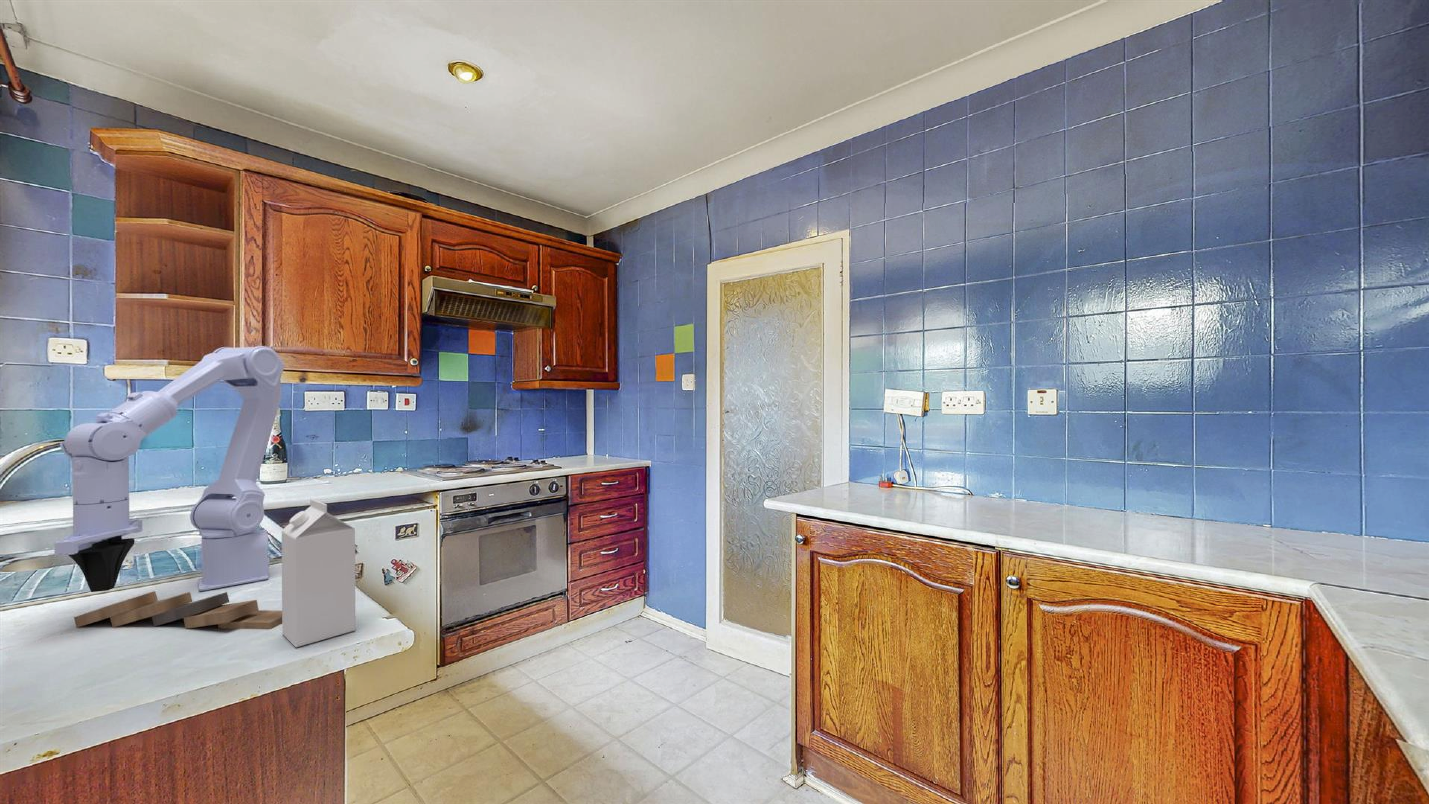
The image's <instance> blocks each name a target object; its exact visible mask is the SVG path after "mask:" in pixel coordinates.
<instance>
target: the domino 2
mask: <svg viewBox="0 0 1429 804" xmlns="http://www.w3.org/2000/svg"><path fill="white" fill-rule="evenodd" d="M192 602H194V601H193V598H192V595H191V592H190V591H187V592H185V593H181V594H177V595H173V596H171V597H168V598H164V599H160V600H158V601H156V602H153V603H150V604H147V605H145V606H142V607H139V608H136V609H133V610H131V611H128V612H125V613H122V614H118V615H115V616H112V617H109V619H110V622H111V626H112V628H116V627H120V626H123V625H127V624H130V623H134V622H136V621H140V620H144V619H147V618H150V617H151V618H152V616H154V615H157V614H161V613H164V612H167V611H169V610H172V609H175V608H177V607H180V606H182V605H185V604H188V603H192Z"/></svg>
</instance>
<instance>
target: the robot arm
mask: <svg viewBox="0 0 1429 804" xmlns="http://www.w3.org/2000/svg"><path fill="white" fill-rule="evenodd" d="M284 369H285V364H284V362H283V360H282V359H281V357H280V356H279V355H278V353H277V352H276V351H275V350H274V349H273V348H271V347H269V346H265V345H257V346H249V347H248V346H247V347H242V346H241V347H231V346H223V347H219V348H216V349H215V350H214V351H213V352H211V353H207V354H206V355H203V357H202V358H201V360H200V361H199V362H198V363H196V364H195V365H193V366H192V367H191V368H189V369H188V370H186V371H185V372H183V373H182V374H180V375H179V376H177V378H174V379H173V380H171V382H170V383H168V384H166V385H165V386H164V387H162V388H161V389H159V390H158V391H153V390H144V391H143V390H142V391H139V392H132V393H129V394H128V395H127V396H126V397H125V398H126V399H127V400H126V401H124V402H122V404H119V405H118V406H116V407H115V408H113V409H112V410H109V411H108V412H100V414H97V415H96V420H95V422H87V423H81V424H78V425H77V426H74V427H73V428H72V429H71V430H69V431H68V432H67V435H66V436H65V437H64V441H60V442H59V447H60V449H61V452H62V453H63V454H64V455H66V457H68V458H69V460H70V462H71V463H70V464H71V469H72V532H71V533H70V534H68V535H67V536H66V537H64V538H62V539H60V540H57V541H55V542H54V544H53V545H54V556H55V557H56V556H68V557H69V558H71V559H72V560H73V561H74V563H75V564H76V565H77V566H78V568H80V570H81V572H82V574H83V576H84V579H85V581H86V584H87V586H88V589H89V591H90V592H91V593H95V592H107V591H110V590H112V589H114V588H115V586H116V584H117V580H118V578H119V574H120V571H121V569H122V566H123V563H124V561H125V558H126V557H127V554H129V552H130V550H131V549H132V547H133V546H134V545H135V538H134V537H132V538H128V537H127V538H122V537H124V536H128V535H130V534H133V533H134V534H135V533H140V532H143V519H132V520H130V456H132V455H135V454H136V453H137V452H138V450H139V449H140V446H141V443H142V440H144V439H145V438H147V437H148V436H149V435H151V434H152V433H154V432H155V431H157V430H158V429H160V428H161V427H163V426H164V425H166V424H167V423H168V422H170V421H172V420H173V419H176V417H177V415H178V407H179V406H180V405H182V404H183V403H185V402H187V401H188V400H190V399H192V398H193V397H195V396H197V395H198V394H200V393H202V392H203V391H205V390H207V389H209V388H210V387H213V386H214V385H215V384H217V383H219V382H221V381H222V382H224V383H225V384H226V385H228V386H229V387H230V388H232V389H233V390H234V391H236V392H237V393H238V394H239V396H241V397H242V400H243V401H242V404H241V407H240V411H239V414H238V415H237V416H238V417H237V419H236V423H235V425H234V428H233V432H232V435H231V438H230V441H229V445H228V447H227V450H226V453H225V457H224V460H223V463H222V466H221V469H220V473H219V475H218V478H217V480H215V481H214V482H213V483H211V484H210V485H208V486H207V487H206V488H204V490H203V493H202V494H201V497H200V499H199V500H198V501H197V502H196V503H195V504H194V505H193V507H192V508H191V511H190V513H189V520H190V523H191V524H192V526H193V527H194V528H195V529H197V530H198V532H199V534H198V535H199V536H201V577H200V578H198V591H200V592H201V591H202V592H203V591H207V590H213V589H220V588H225V587H231V586H236V585H241V584H247V583H253V582H258V581H265V580H268V579H269V578H270V576H269V568H270V567H271V566H270V564H271V563H270V558H269V536H268V530H267V529H257V528H258V527H259V526H260V524H261V523H262V521H263V520H264V516H265V508H264V507H265V506H264V500H265V496H266V495H265V492H264V491H263V490H262V489H261V487H259V486H258V484H257V481H258V477H259V474H260V470H261V468H262V463H263V461H264V456H265V454H266V451H267V448H268V447H267V446H268V443H269V441H270V437H271V433H272V430H273V427H274V424H275V421H276V418H277V414H278V411H279V407H280V403H281V401H282V396H283V393H282V383H281V382H282V381H281V378H282V375H283V372H284Z"/></svg>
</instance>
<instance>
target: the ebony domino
mask: <svg viewBox="0 0 1429 804" xmlns="http://www.w3.org/2000/svg"><path fill="white" fill-rule="evenodd" d="M229 603H230V598H229V595H228V592H227V591H225V592H223V593H219V594H216V595H213V596H210V597H206V598H203V599H199V600H196V601H193V602H190V603H188V604H185V605H182V606H180V607H177V608H175V609H172V610H169V611H167V612H164V613H161V614H157V615H154V616H151V619H152V622H153V627H157V626H160V625H164V624H168V623H171V622H174V621H177V620H178V621H179V620H181V619H184V618H185V617H188V616H192V615H195V614H198V613H201V612H204V611H207V610H209V609H212V608H215V607H217V606H220V605H226V604H229Z"/></svg>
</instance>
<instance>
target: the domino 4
mask: <svg viewBox="0 0 1429 804" xmlns="http://www.w3.org/2000/svg"><path fill="white" fill-rule="evenodd" d="M217 625H218V629H231V630H234V629H241V630H244V629H245V630H272V629H274V628H275V627H278V626H280V625H282V610H267V609H266V610H265V609H264V610H262V609H261V610H257V611H255V612H252V613H250V614H248V615H245V616H243V617H240V618H238V619H235V620H233V621H230V622H228V623H221V624H217Z"/></svg>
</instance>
